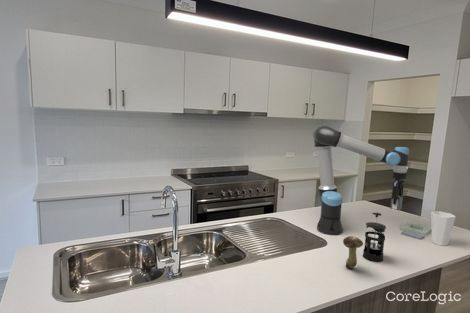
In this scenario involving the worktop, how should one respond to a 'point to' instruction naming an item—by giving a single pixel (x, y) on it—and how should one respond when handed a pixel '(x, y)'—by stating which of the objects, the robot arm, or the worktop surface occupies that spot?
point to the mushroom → (352, 250)
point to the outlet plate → (423, 230)
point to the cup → (441, 227)
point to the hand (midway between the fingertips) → (396, 208)
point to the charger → (398, 203)
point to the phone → (412, 235)
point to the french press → (372, 246)
